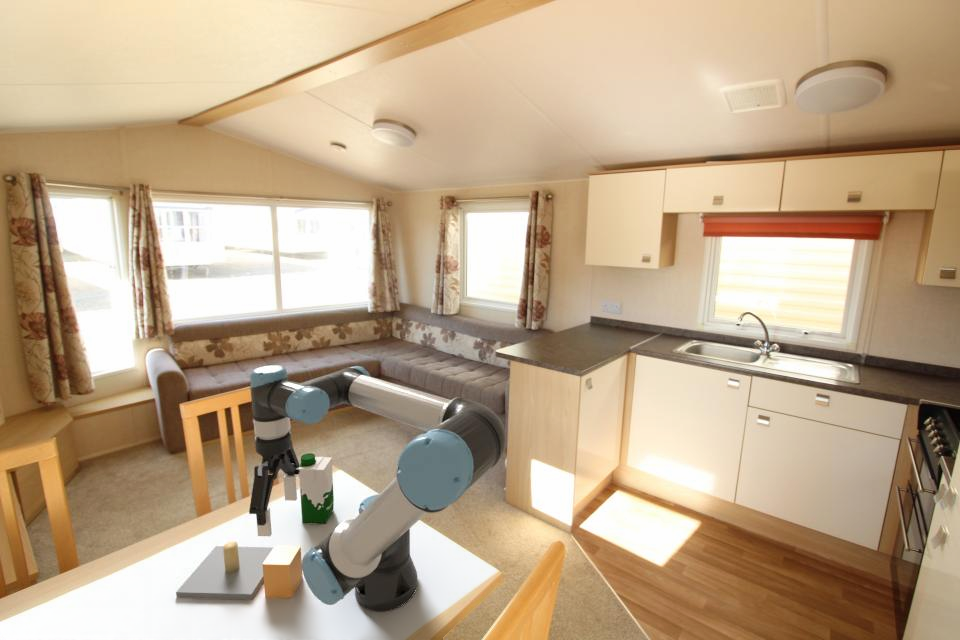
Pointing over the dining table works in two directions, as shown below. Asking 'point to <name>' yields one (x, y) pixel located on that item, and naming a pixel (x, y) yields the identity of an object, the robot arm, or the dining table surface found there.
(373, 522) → the robot arm
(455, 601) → the dining table surface
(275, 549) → the wooden toy block
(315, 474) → the milk carton
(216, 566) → the board
